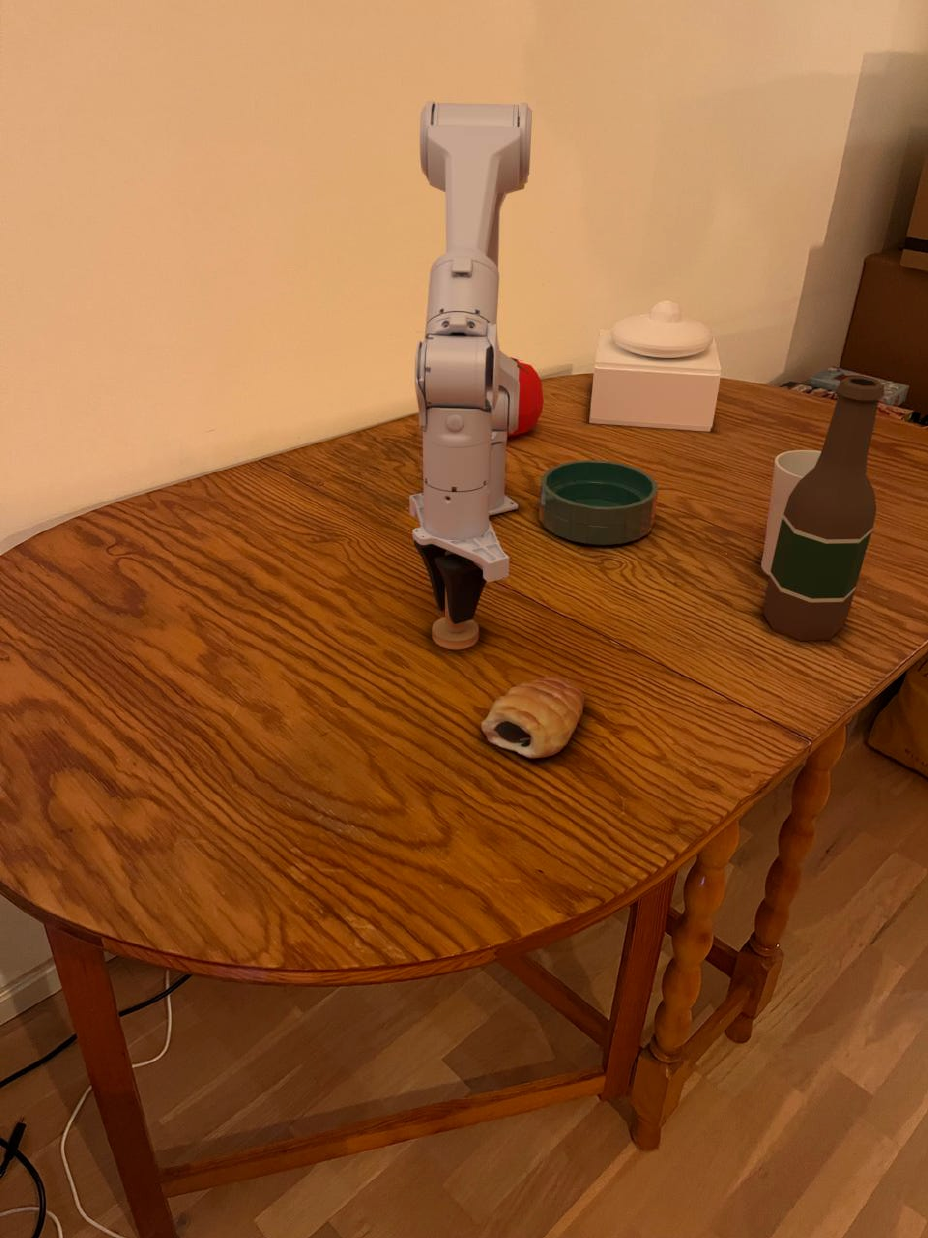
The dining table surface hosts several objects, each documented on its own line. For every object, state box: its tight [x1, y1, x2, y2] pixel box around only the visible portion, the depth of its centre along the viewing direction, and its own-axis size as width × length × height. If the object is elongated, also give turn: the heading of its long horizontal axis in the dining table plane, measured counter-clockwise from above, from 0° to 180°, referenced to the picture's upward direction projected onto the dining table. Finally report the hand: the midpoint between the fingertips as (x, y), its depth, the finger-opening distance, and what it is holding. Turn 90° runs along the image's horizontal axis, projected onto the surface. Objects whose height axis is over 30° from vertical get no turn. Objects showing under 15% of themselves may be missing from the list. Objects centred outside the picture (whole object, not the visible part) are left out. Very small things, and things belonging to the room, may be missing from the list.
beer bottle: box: [762, 375, 885, 642], centre depth 83 cm, size 8×8×24 cm
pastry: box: [480, 675, 585, 759], centre depth 74 cm, size 9×7×4 cm
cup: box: [760, 449, 822, 577], centre depth 95 cm, size 8×8×12 cm
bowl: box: [538, 459, 659, 546], centre depth 105 cm, size 13×13×5 cm
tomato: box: [507, 356, 545, 438], centre depth 128 cm, size 13×12×11 cm
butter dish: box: [588, 300, 722, 433], centre depth 136 cm, size 18×18×16 cm
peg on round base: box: [431, 550, 480, 650], centre depth 84 cm, size 4×4×9 cm
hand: (455, 613), depth 85 cm, fingers closed on peg on round base, 2 cm apart
